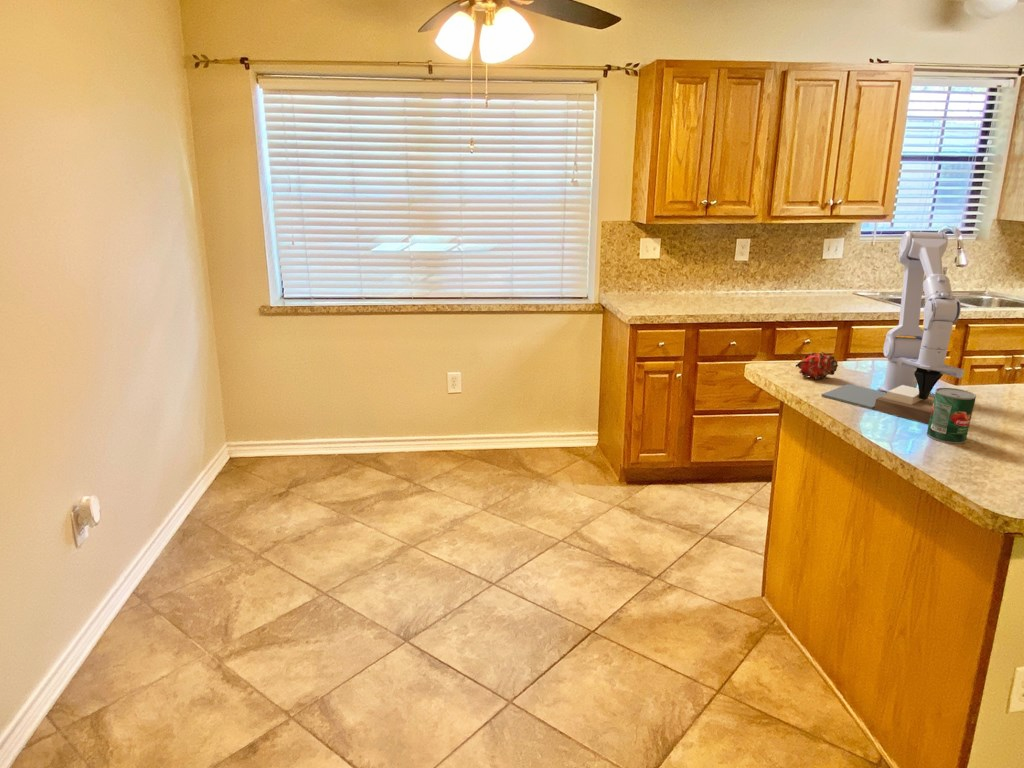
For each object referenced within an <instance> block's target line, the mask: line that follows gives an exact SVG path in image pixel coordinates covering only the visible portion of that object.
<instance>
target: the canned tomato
mask: <svg viewBox="0 0 1024 768" xmlns="http://www.w3.org/2000/svg"><path fill="white" fill-rule="evenodd" d="M934 395H935V397H934V402H933V406H932V411H931V416H930V420H929V424H927V425H928V426H927V431H926V436H927V437H929V438H930V439H932V440H934V441H937V442H941V443H946V444H951V445H952V444H954V445H955V444H956V445H958V444H959V445H960V444H964V443H966V442H967V437H968V433H969V428H970V424H971V419H972V415H973V412H974V407H975V403H976V398H977V395H976V394H975V393H973V392H971V391H968V390H965V389H960V388H953V387H939V388H936V389H935V393H934Z"/></svg>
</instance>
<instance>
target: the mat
mask: <svg viewBox="0 0 1024 768" xmlns="http://www.w3.org/2000/svg"><path fill="white" fill-rule="evenodd" d="M886 394H888V392H884V391H880V390H877V389H873V388H868V387H864V386H859V385H855V384H851V383H847V384H844V385H842V386H840V387H837V388H835V389H831V390H829V391H826V392H824V393H821V397H823V398H827V399H830V400H834V401H838V402H843V403H846V404H850V405H854V406H858V407H862V408H866V409H869V410H874V407H875V402H876V399H877V398H879V397H882V396H884V395H886Z"/></svg>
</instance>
